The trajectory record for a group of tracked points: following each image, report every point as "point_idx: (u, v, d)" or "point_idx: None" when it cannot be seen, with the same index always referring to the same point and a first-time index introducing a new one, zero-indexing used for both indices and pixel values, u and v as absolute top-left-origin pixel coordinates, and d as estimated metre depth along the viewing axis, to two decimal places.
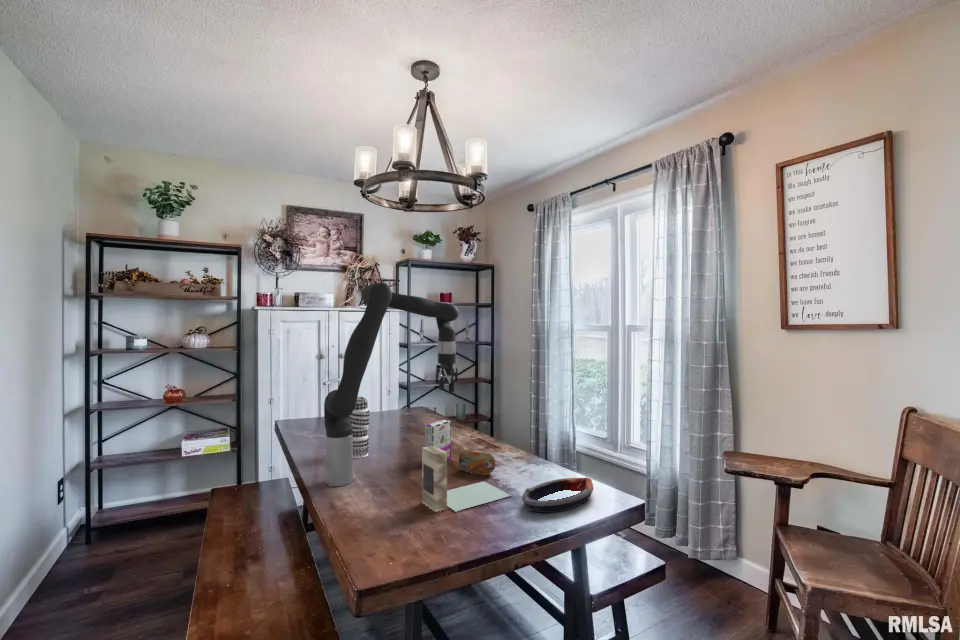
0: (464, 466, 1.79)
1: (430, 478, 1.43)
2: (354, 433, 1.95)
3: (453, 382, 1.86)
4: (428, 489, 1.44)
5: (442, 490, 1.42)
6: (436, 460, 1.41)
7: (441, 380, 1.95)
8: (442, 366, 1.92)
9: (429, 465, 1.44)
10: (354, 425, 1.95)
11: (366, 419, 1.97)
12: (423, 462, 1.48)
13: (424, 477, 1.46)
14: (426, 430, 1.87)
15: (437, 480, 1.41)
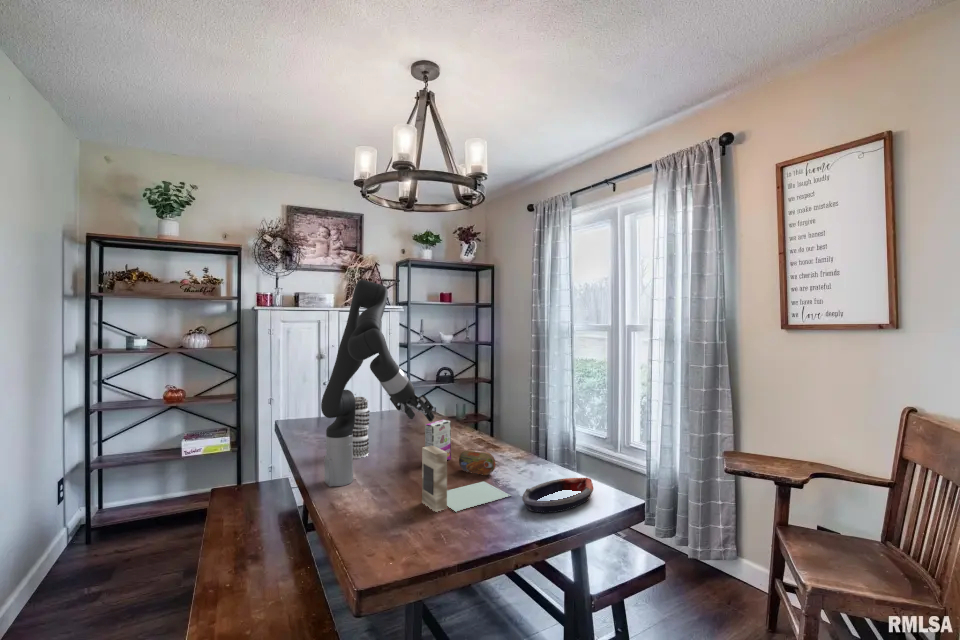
0: (464, 466, 1.79)
1: (430, 478, 1.43)
2: (354, 433, 1.95)
3: None
4: (428, 489, 1.44)
5: (442, 490, 1.42)
6: (436, 460, 1.41)
7: None
8: None
9: (429, 465, 1.44)
10: (354, 425, 1.95)
11: (366, 419, 1.97)
12: (423, 462, 1.48)
13: (424, 477, 1.46)
14: (426, 430, 1.87)
15: (437, 480, 1.41)
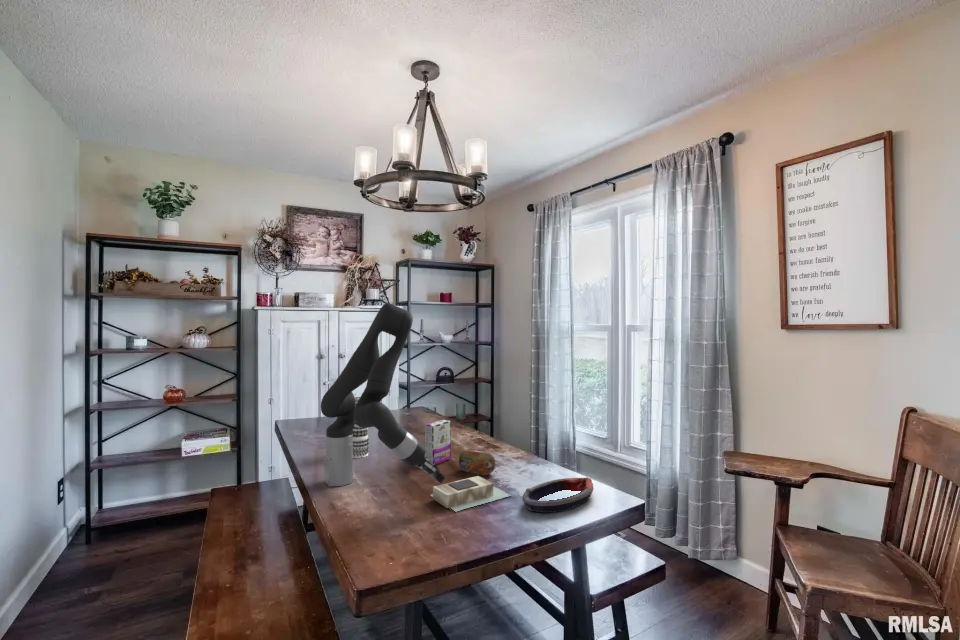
0: (464, 466, 1.79)
1: (467, 485, 1.51)
2: (354, 433, 1.95)
3: None
4: (456, 486, 1.50)
5: (463, 498, 1.47)
6: (488, 485, 1.53)
7: None
8: None
9: (475, 482, 1.54)
10: (354, 425, 1.95)
11: None
12: (468, 479, 1.58)
13: (460, 482, 1.54)
14: (425, 430, 1.87)
15: (473, 490, 1.49)
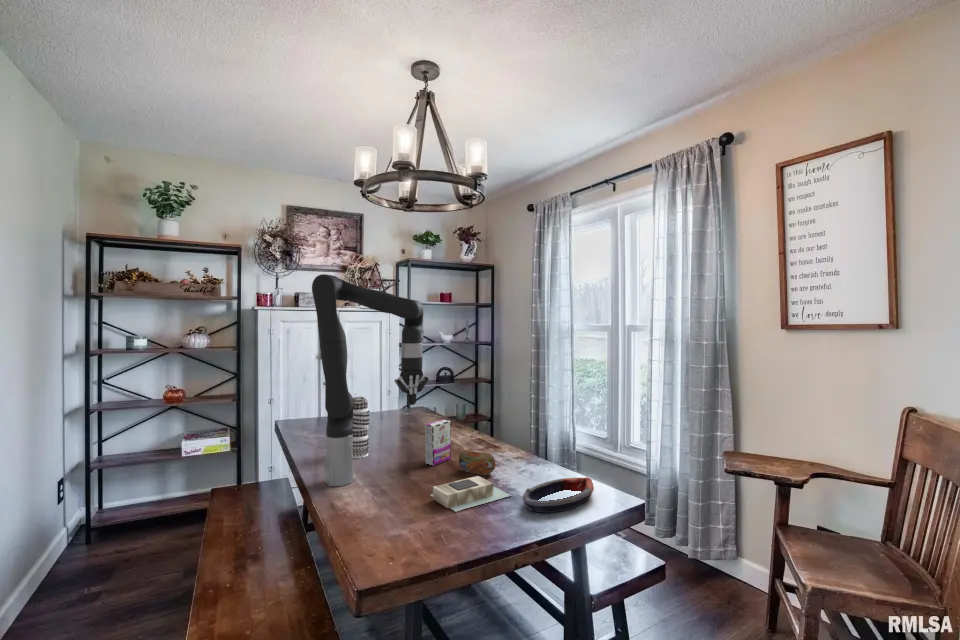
0: (464, 466, 1.79)
1: (467, 485, 1.51)
2: (354, 433, 1.95)
3: (405, 392, 1.62)
4: (456, 486, 1.50)
5: (463, 498, 1.47)
6: (488, 485, 1.53)
7: None
8: None
9: (475, 482, 1.54)
10: (354, 425, 1.95)
11: (366, 419, 1.97)
12: (468, 479, 1.58)
13: (460, 482, 1.54)
14: (425, 430, 1.87)
15: (473, 490, 1.49)
